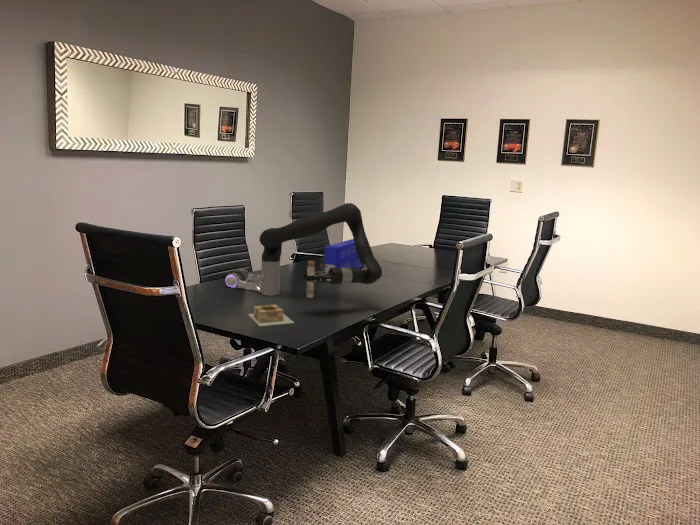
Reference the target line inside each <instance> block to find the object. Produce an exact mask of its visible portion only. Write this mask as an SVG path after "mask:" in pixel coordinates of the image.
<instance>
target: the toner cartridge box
mask: <svg viewBox="0 0 700 525" xmlns="http://www.w3.org/2000/svg"><path fill="white" fill-rule="evenodd" d="M323 252H324V261H323V262H324V266H323V267H324V269H323V271H325V272H328V271H329V269H330V268H343V267H345V268H360V269H362V268H364V267H365V264H361V263H360V260H359V258H358V255H357V252H356V249H355V244H354V238H350V239H347V240H344V241H341V242H337V243H334V244H330V245H325V246H324V251H323Z"/></svg>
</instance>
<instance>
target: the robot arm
mask: <svg viewBox="0 0 700 525" xmlns="http://www.w3.org/2000/svg"><path fill="white" fill-rule="evenodd" d="M342 223H345V224H346V225H347V226H348V228H349V230H350V231H351V235H352V237H353V238H352V239H354V244H355V249H356V252H357V255H358V258H359V260H360V263H361V264H364V266H365V267H366V269H363V270H362V268H345V267H343V268H330V269H329V271H328V272H325V271H324V270H323V271H321V270H317V271H315V275H314V276H307V273H302V279H303V280H305V281H306V282H307V281H314V282H317V283H329V284H330V285H334V286H335V285H346V284H356V283H357V284H358V283H359V284H363V285H371V284H374V283H376V282H377V281H378V280H379V279H380V278H382V276H383V270H382V266H381V265H380V264H379V262H378V260H377V259H376V257H375V256H374V254H373V251H372V247H371V245H370V242H369V239H368V237H367V235H366V232H365V228H364V223H363V216H362V212H361V210H360V208H359V207H357V205H356V204H355V203H351V202H347V203H345V204H341V205H339V206H337V207H335V208H332V209H330V210H326V211H323V212H319V213H316V214H312V215H309V216H306V217H303V218H301V219H296V220H295V221H293V222H290V223H288V224H286V225H284V226H281V227H276V228H275V227H271V228H268V229H265V230H263V231H262V232H261V233H260V235H259V242H260V245H261V246H263V252H262V254H261V274H260V275H261V292H260V294H261V295H263V296H269V297H270V296H271V297H272V296H278V295H280V292H281V291H280V289H281V288H280V286H281V285H280V284H281V283H280V280H281V278H280V277H281V257H282V249H283V243H285V242H288V241H292V240H299V239H303V238H306V237H310V236H315V235H318V234H320V233H321V232H323V231H324V230H326V229H327V228H329V227H331V226H334V225H338V224H342Z"/></svg>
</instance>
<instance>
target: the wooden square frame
mask: <svg viewBox="0 0 700 525" xmlns="http://www.w3.org/2000/svg"><path fill="white" fill-rule="evenodd" d="M253 314H254V317H255V318H256V319H257V320H258V321H259V322H260V323H265V322H276V321H283V314H285V313H284V310H283V308H281V307H280V306H278V305H277V304H266V305H254V306H253Z"/></svg>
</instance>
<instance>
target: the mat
mask: <svg viewBox="0 0 700 525" xmlns="http://www.w3.org/2000/svg"><path fill="white" fill-rule="evenodd" d="M247 315H248V316H249V317H250V318H251V319H252V320H253V321H254V322H255V323H256V324H257V325H258V326H259V327H265V326H277V325H286V324H294V323H295V322H294V321H293V320H292V319H291V318H290V317H288V316H287V315H286V314H285V313H283V321H276V322H265V323H260V322H259V321H258V320H257V319H256V318H255V317H254V313H247Z"/></svg>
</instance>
